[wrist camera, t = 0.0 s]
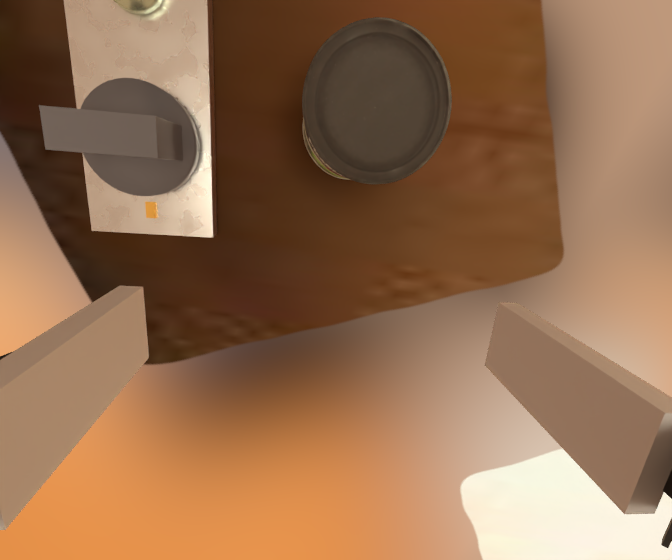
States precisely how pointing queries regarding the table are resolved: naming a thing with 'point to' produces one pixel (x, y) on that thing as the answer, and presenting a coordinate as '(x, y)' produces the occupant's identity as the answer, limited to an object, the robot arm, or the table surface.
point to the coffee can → (375, 102)
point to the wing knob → (128, 136)
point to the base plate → (166, 73)
